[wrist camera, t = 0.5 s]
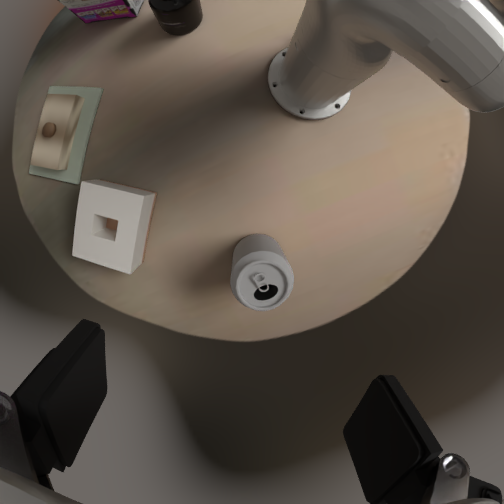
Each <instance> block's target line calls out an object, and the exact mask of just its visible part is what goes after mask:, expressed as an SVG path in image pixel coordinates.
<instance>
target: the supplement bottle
mask: <svg viewBox="0 0 504 504" xmlns="http://www.w3.org/2000/svg"><path fill="white" fill-rule="evenodd" d="M148 2H149V5H150V7H151V9H152V11H153V13H154V15H155V16H156V18H157V20H158V22H159V24H160V26H161V27H162V29H163V30H164V31H165V32H167V33H169V34H172V35H183V34H187V33H189V32H191V31H193V30H194V29H196V28H197V27H198V26H199V25H200V23H201V21H202V18H203V14H202V9H201V4H200V0H148Z"/></svg>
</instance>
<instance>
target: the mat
mask: <svg viewBox="0 0 504 504" xmlns="http://www.w3.org/2000/svg"><path fill="white" fill-rule="evenodd" d="M103 90H104V89H103V88H95V87H75V86H50V88H49V91H48V94H70V95H78V96H80V97H83V98H85V100H84V104H83V107H82V110H81V114H80V117H79V121H78V124H77V128H76V132H75V136H74V140H73V144H72V148H71V153H70V157H69V162H68V167H67V170H55V169H50V168H45V167H40V166H35V165H30V169H29V174H34V175H38V176H43V177H47V178H52V179H56V180H60V181H65V182H69V183H73V184H79V183H80V177H81V172H82V167H83V162H84V158H85V153H86V149H87V145H88V141H89V137H90V133H91V129H92V125H93V122H94V118H95V115H96V111H97V108H98V105H99V102H100V99H101V96H102V93H103ZM45 101H46V100H45ZM42 111H43V110H42ZM38 126H39V125H38ZM37 130H38V129H37ZM33 148H34V147H33ZM32 153H33V152H32ZM31 158H32V157H31Z"/></svg>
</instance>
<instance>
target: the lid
mask: <svg viewBox="0 0 504 504" xmlns="http://www.w3.org/2000/svg"><path fill="white" fill-rule="evenodd" d="M84 100H85V98H83V97H80V96H78V95H70V94H47V97H46V101H45V104H44V107H43V111H42V114H41V118H40V122H39V126H38V130H37V134H36V138H35V143H34V148H33V153H32V158H31V163H30V165H35V166H40V167H45V168H50V169H55V170H67V167H68V162H69V157H70V153H71V148H72V144H73V140H74V136H75V132H76V128H77V124H78V121H79V117H80V114H81V110H82V107H83V104H84Z"/></svg>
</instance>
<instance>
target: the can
mask: <svg viewBox="0 0 504 504" xmlns="http://www.w3.org/2000/svg"><path fill="white" fill-rule="evenodd" d="M293 283H294V276H293V270H292V268H291V266H290V265H289V263H288V261H287V259H286V257H285V255H284V253H283V251H282V249H281V247H280V245H279V244H278V242H276V241H275V240H274V239H273V238H272V237H270V236H267V235H265V234H253V235H249V236H247V237H245V238H243V239H242V240H241V241H240V242H239V243H238V244H237V245H236V247H235V250H234V252H233V260H232V270H231V280H230V285H231V289H232V293H233V294H234V296H235V297H236V299H237V300H238V301H239V302H240V303H242V304H243V305H244V306H246V307H248V308H251V309H253V310H257V311H267V310H272V309H274V308H276V307H278V306H280V305H281V304H282V303H283V302H284V301H285V300H286V299H287V298H288V297H289V295H290V293H291V291H292V289H293Z"/></svg>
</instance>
